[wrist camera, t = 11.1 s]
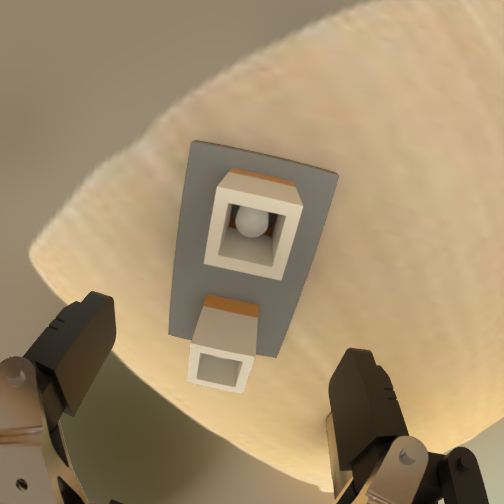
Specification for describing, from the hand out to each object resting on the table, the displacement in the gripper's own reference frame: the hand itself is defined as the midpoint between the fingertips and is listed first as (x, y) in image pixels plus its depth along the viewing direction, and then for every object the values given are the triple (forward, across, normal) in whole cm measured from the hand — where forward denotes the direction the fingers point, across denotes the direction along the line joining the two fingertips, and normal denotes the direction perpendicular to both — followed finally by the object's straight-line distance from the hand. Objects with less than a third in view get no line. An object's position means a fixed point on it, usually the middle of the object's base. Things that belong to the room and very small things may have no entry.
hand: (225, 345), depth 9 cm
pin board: (+18, 0, +6) cm, 19 cm away
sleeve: (+16, 0, 0) cm, 16 cm away
